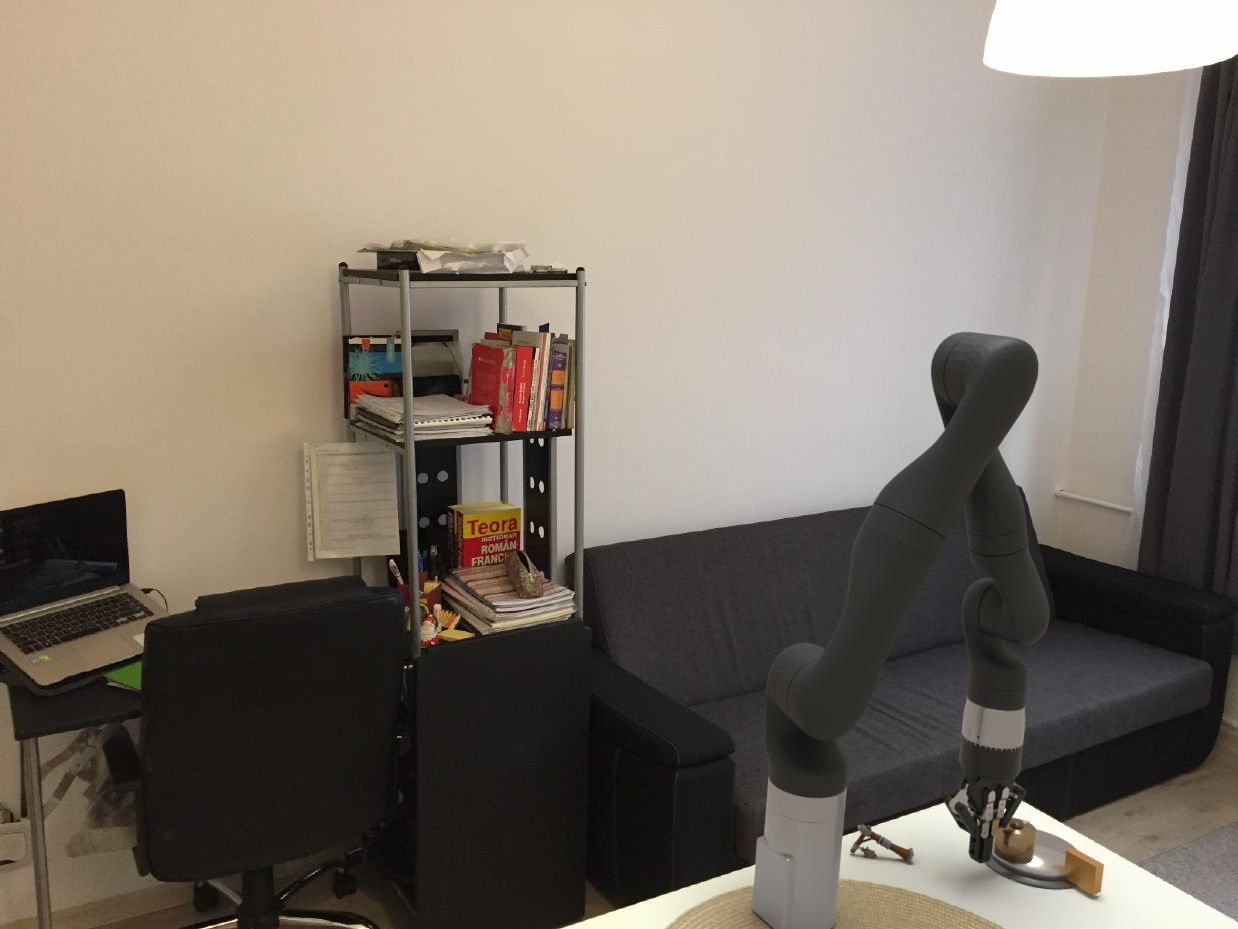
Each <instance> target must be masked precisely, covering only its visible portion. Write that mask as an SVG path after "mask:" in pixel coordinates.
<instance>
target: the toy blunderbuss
mask: <svg viewBox="0 0 1238 929" xmlns="http://www.w3.org/2000/svg"><path fill="white" fill-rule="evenodd" d="M856 829H857V830H859V833H860V835H859V836H858V838H857V839H856V841H854V842H853V844H852V847H851V848H850V853H852V855H855V853H856V852H857V851H858V850H859V851H860V852H862V853H863V856H864V857H866V856H867V857H868V858H870V859H871V860H872V859H877V858H878V854H877V853H876V852H875V850H872V849H871V848H869V846H866V847H864V846H862V847H861V845H862V844H864V843H867V842H870V841H875V842H876V844H878V845H880V846H881V847H883V848H884V849H885V850H888V851H889V850H890V851H891V852H893V853H894V854H895V855H897V856H899V857H900V858H901V859H903V860H904V861H903V862H904V864H906V865H909V864H910V862H911V861H912V859H913V858H914V856H915V853H914V849H913V847H909V848H905V847H903V846H899V845H898V844H895V843H893V842H892V841H891V840H890V839H888V838H886V837H885V836H882V834H878V833H876V832H875V831H873V830H872V826H871V825H869V824H867V825H865V824H862V825H861V824H858V825H857V828H856ZM866 837H867V838H866ZM865 838H866V839H865Z"/></svg>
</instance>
